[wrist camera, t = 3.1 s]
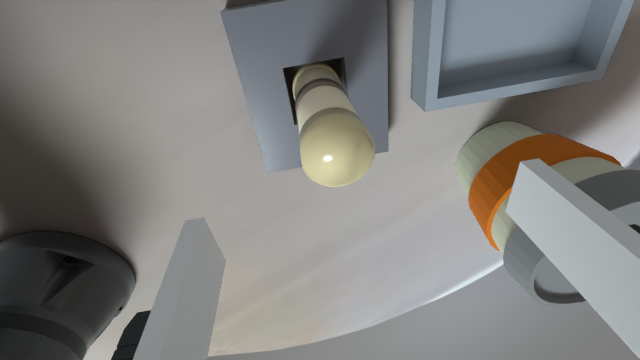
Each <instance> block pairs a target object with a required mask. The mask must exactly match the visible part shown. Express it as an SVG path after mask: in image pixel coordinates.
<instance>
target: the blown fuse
mask: <svg viewBox="0 0 640 360" xmlns="http://www.w3.org/2000/svg"><path fill="white" fill-rule="evenodd" d="M292 89H293V96H294V99H295V108H296V116H297V121H298V126H299V134H300V135H299V147H300V155H301V163H302V167H303V169H304V171H305V172H306V174H307V175H308V176H309V177H310V178H311V179H312V180H313V181H315V182H317V183H319V184H321V185H325V186H332V187H337V186H344V185H347V184H350V183H353V182H355V181H356V180H358V179H359V178H361V177H362V176H363V175H364V174H365V173H366V172H367V171H368V170H369V168H370V167H371V165H372V163H373V160H374V156H375V145H374V142H373V140H372V137H371V136H370V134H369V132H368V130H367V128H366V127H365V125H364V123H363V121H362V120H361V118H360V117H359V116H358V115H357V113H356V112H355V110H354V108H353V106H352V104H351V101H350V99H349V97H348V95H347V93H346V92H345V90H344V88H343V87H342V86H341V82H340V80H339V77H338V76H337V74H336V72H335V70H334V69H333V68H332V66H331V65H329V64H328V63H326V62H324V61H320V62H314V63H309V64H303V65H300V66H299V67H298V68H297V69H296V71H295V73H294V75H293V78H292Z"/></svg>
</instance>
